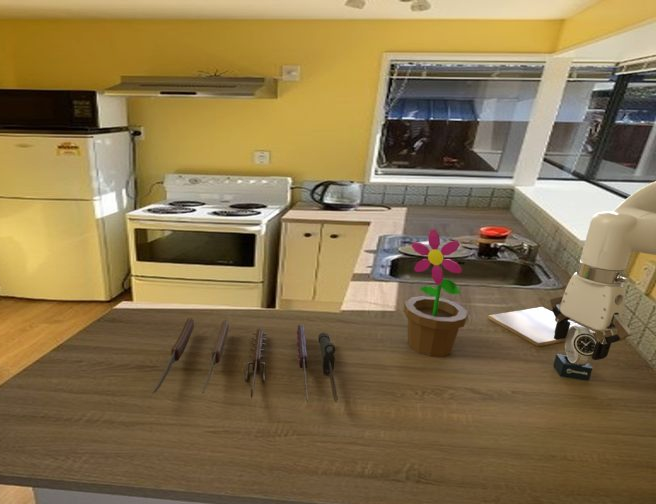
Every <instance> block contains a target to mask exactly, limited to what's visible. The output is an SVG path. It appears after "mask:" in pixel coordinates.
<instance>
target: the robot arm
mask: <svg viewBox="0 0 656 504" xmlns="http://www.w3.org/2000/svg"><path fill="white" fill-rule="evenodd" d="M631 253H642V254H647V255H653V256H656V180H655V181H653V182H650V183H649V184H646V185H644V186H643V187H641V188H639V189H638V190H636V191H635V192H633V193H632V194H630V195H629V196H628V197H627V198H626V199H624V200H623V201H622V202H621V203H620V204H618V205H617V206H616V207H615V208H614V209H613V210H612V211H601V212H597V213H595V214H594V215H593V216H592V217H591V220H590V223H589V227H588V230H587V234H586V238H585V242H584V244H583V248H582V252H581V256H580V260H579V263H578V267H577V271H576V272H574V273H573V275H572V276H571V278H570V280H569V281H568V283H567V285H566V288H565V291H564V292H563V295H561V296H557V297H553V298H550V299H549V303H550V307H551V310H552V311H551V312H553V313H554V315H555V317H556V318H555V321H556V322H557V324H556V328H555V335H554V339H556V340H559V339H564V338H566V336H567V334H568V330H569V327H570V322H568V320H572V321H574V322H576V323H578V324H580V325H582V326H585V327H587V328H589V329H591V330H593V331H594V330H595V332H596V335H597V337H598V342H596V345H595V348H594V351H593V354H592V360H593V361H599V360H603V359H606V358H607V357H608V354H609V352H610V349H611V346H612V344H614V343H616V342H617V343H618V342H621V341H623V340H624V339H627V338H628V337H630V336H632V335H633V331H632V329H630V328H629V327H628V326H627V324H626V323H625V322H624V320H623V315H624V309H625V304H626V297H627V295H626V293H627V292H626V291H627V289H626V288H627V285H625V284H628V283H629V282H630V281H631V277H630V276H629V275H626V273H627V270H626V269H627V266H628V263H629V260H630V257H631ZM624 283H625V284H624ZM613 330H617V333H615V334H614V331H613Z"/></svg>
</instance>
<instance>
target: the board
mask: <svg viewBox="0 0 656 504" xmlns="http://www.w3.org/2000/svg"><path fill="white" fill-rule="evenodd" d="M555 318H556V317H555V315H554V313H553V311H551V310H549V309H547V308H545V307H543V306H539V307H534V308H527V309H521V310H514V311H508V312H501V313H495V314H489V315H488V317H487V319H488V320H490V321H492V322H494V323H495V324H497V325H499V326H501V327H503V328H504V329H506V330H508V331H510V332H511V333H513V334H515V335H517V336H518V337H520V338H522V339H524V341H525V340H526V341H527V342H529V343H530V344H532V345H534V346H536V347H543V346H549V345H553V344H558V343H565V340H566V338H564V339H559V340H556V339H554V335H555V328H556V324H557V322H556V321H555ZM568 322H570V327H572V326H579V327H584V325H582V324H580V323H578V322H576V321H574V320H572V319H570V320H568ZM570 327H569V329H570ZM588 329H589V330H590V332H592V333H593V335H594V337H595V336H596V335H597V331H594V330H593V329H591V328H588Z"/></svg>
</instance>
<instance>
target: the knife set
mask: <svg viewBox="0 0 656 504" xmlns="http://www.w3.org/2000/svg"><path fill="white" fill-rule="evenodd" d="M186 319H187V320H186V321H185V323H184V325H183V328H182V330H181V332H180V334H179V336H178V337H177V340H176V342H175V343H174V345H173V346H172V348H171V350H170V353H171V354H170V355H171V356H170V358H169V361H168V362H167V365H166V367H165V369H164V371H163V373H162V375H161V376H160V378H159V380H158V382H157V384H156V386H155V387H154V389H153V391H152V394H151V395H153V394H155V393H156V392H157V391H159V389H160V388H161V386H162V384H163V383H164V382H165V379H166V378H167V375H169V372H170V369H171V368H172V366H173V364H175V362H178V361H180V358H181V357H182V355H183V354H184V352H185V349H186V348H187V345H188V343H189V340H190V338H191V335H192V333H193V331H194V329H195V328H194V327H195V326H194V325H195V324H194V322H195V321H194V318H189V317H188V318H186ZM305 329H306V328H305V325H303V324H298V325H297V329H296V339H297V340H296V343H297V357H298V359H297V361H298V367H299V368H300V369H302V371H303V382H304V383H303V384H304V391H305V392H304V393H305V400H306V402H309V396H308V384H307V372H306V369H307V367H308V362H309V360H308V351H307V341H306V330H305ZM228 333H229V321H228V320H222V321H221V323H220V327H219V331H218V333H217V334H218V335H217V338H216V342H215V344H214V346H213V349H212V351H211V364H210V368H209V371H208V373H207V377H206V380H205V382H204V386H203V389H202V391H201V393H202V394H204V393H205V391H206V389H207V386H208V383H209V380H210V378H211V376H212V375H211V374H212V371H213V368H214V365H216V364H219V363H220V361H221V358H222V356H223V352H224V349H225V345H226V340H227V337H228ZM253 335H254V336H255V337H251V339H252V340H255V341H254V342H250V345H254V348H250V349H249V350H250V351H253V354H252V355H248V357H249V358H252V360H250V361H247V363H246V370H245V371H246V372H245V377H244V378H245V379H244V382H248V381H249V375H250V365H252V367H251V369H252V371H253V379H252V386H251V389H250V398H251V399H253V397H254V392H255V391H254V390H255V385H256V384H255V383H256V378H257V377H256V376H257V375H256V374H257V372H260V370H261V366H262V372H261V373H262V374H261V382H262V384H263V383H265V380H266V367H267V366H266V363H265V362H263V361H262V359H264V358H266V356H264V355H262V353H263V352H267V349H263V346H267V345H268V344H267V343H265V342H264V341H267V340H268V339H267V338H264V336H268V334H266V333H265V332H264V329H263V328H257V329H256V332H255V333H253ZM330 339H331V338H330V335H329V334H328V333H327V332H321V333H320V334H319V335H318V344H319V345H320V352H321V359H322V372H323V375H328V376H329V379H330V380H329V381H330V386H331V393H332V398H333V402H334V403H335V404H338V403H339V397H338V393H337V387H336V382H335V381H336V380H335V377H334V368H335V361H336V360H335V353H336V350H337V349H336V345H335V344H334V343H333V342H331V340H330Z"/></svg>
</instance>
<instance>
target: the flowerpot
mask: <svg viewBox="0 0 656 504" xmlns="http://www.w3.org/2000/svg"><path fill="white" fill-rule="evenodd" d="M427 238H428V246H429V247H430V249H431V250H430V249H429V247H428V246H427V245H426V244H424V243H422V242H419V241H417V242H416V241H413V242H412V243H411V247H412V249H413V250H414V252H416V253H417V254H418V255H421V256H427V258H423V259H421V260H419V261H418V262H416V264H415V266H414V268H413V270H414V272H415V273H423V272H424V271H426V270H428V269H430V267H431V265H433V267H432V269H431V276H432V277H431V278H432V280H433V281H434V283H435V285H436V288H435V287H433V286H429V285H427V286H421V287H420V290H421V291H422V292H424V293H425V294H426V295H417V296H412V297H409V298H407V299H406V301H405V302H404V303H403V313H404V315H405V317H406V318H407V343H408V345H409V347H410V348H411V350H413V351H415V352H416V353H418V354H420V355H421V354H422V355H424V356H428V357H435V358H436V357H437V358H441V357H443V358H444V357H446V356H449V355H450V354H451V353H452V351H453V348H454V345H455V342H456V339H457V336H458V333H459V330H460V329H461V328H464V327H465V325H466V324H467V321H468V315H469V312H468V311H467V309H466V308H465V307H464V306H463V305H461V304H459V303H457V302H455V301H454V300H453V301H452V300H450V299H446V298H442V297H441V289H443V290H444V291H445V292H446V293H448V294H451V295H459V294H460V292H461V291H460V290H459V289H460V288H459V287H458V286H457V284H456V282H454V281H453V280H451V279H450V278H444V271H443V268H444V269H445V270H447V271H449V272H450V273H452V274H461V273H462V271H463V269H462V267H461V266H460V265H459V262H456V261H455V260H453V259H451V258H445V257H444V256H450V255H452V254H453V253H455V252H456V251H457V250H458V249H459V247H460V244H461V243H460V242H459V241H458V240H452V241H449V242H446V244H444V245H442V247H441V249H440V250H439V248H440V247H439V246H440V245H441V242H440V239H441V238H440V234H439V233H438V232H437V230H436V229H435V228H432V229H430V231H429V233H428V236H427Z"/></svg>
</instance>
